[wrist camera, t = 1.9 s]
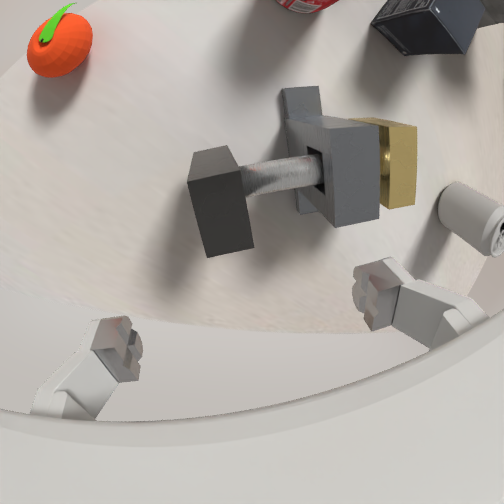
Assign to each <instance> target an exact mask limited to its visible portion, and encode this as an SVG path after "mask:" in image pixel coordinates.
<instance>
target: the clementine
mask: <svg viewBox="0 0 504 504" xmlns="http://www.w3.org/2000/svg"><path fill="white" fill-rule="evenodd" d="M72 4H75V3H72ZM72 4H69V5H67V6H65V7H63V8H62V9H61V10H59V11H58V12H57V13H56V14H55V15H54V16H53V17H51V18H50V19H48V20H46V21H45V22H44V23H43V24H42V25H41V26H40V27H39V28H38V29H37V30H36V31H35V32H34V34H33V36H32V37H31V39H30V42H29V45H28V50H27V60H28V63H29V65H30V67H31V68H32V70H33V71H34V72H35V73H36V74H38V75H41V76H44V77H50V78H53V77H58V76H62V75H65V74H67V73H69V72H71V71H72V70H74V69H75V68H76V67H77V66H79V65H80V64H81V63H82V61H83V60H84V59H85V58H86V56H87V54H88V53H89V51H90V48H91V45H92V38H93V34H92V28H91V26H90V24H89V23H88V21H87V20H86V19H85V18H83V17H82V16H80V15H76V14H73V13H64V12H65V11H66V10H67V8H68V7H70V6H71V5H72Z"/></svg>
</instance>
